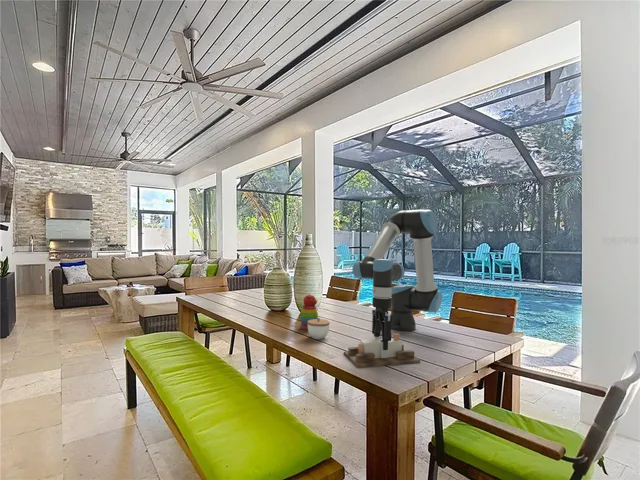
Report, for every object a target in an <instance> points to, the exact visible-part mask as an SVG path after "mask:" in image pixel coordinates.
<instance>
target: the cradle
mask: <svg viewBox="0 0 640 480" xmlns="http://www.w3.org/2000/svg"><path fill="white" fill-rule="evenodd" d="M404 347H405V346H404V344H402V351H396V357H388V358H375V354H374V353H364V354H358V346H349V347H347V349H348V350H347V351H343V355H344V356H345V357H346V358H347V359H348V360H349V361H350V362H351V363H352V364H353V365H354V366H355V367H356V368H358V369H359V368H372V367H383V366H384V367H385V366H394V365H406V364H407V365H408V364H419V363H421V359H420V358H418V357H417V356H415V351H414V350H413V349H409V350H408V349H407V350H405V349H404Z"/></svg>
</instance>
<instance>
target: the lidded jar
mask: <svg viewBox="0 0 640 480" xmlns="http://www.w3.org/2000/svg"><path fill="white" fill-rule="evenodd" d="M330 323H331V322H330V320H328V319H324V318H319V317H318V319H312V320H308V322H307V324H308V330H307V332H308V334H309V335H310V337H311V338H312V339H314V340H323V339H325V337H326V336H327V335H328V333H329V330H330Z"/></svg>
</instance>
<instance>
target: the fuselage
mask: <svg viewBox="0 0 640 480" xmlns="http://www.w3.org/2000/svg"><path fill="white" fill-rule="evenodd" d="M400 335H401V334H400V333H392V337H391V341H388V357H396V351H402V345H403V342H402V341H403V340H401V336H400ZM380 340H382V338H381V339H375V338H374V339H362V340H360V341H359V342H360V343H358V344H357V347H358V354H364V353H374V354H375V358H381V341H380Z"/></svg>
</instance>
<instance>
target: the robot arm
mask: <svg viewBox="0 0 640 480" xmlns="http://www.w3.org/2000/svg"><path fill="white" fill-rule="evenodd" d="M437 231H438V219H437V217H436V214H435V212H434V211H432V210H431V209H412V210H410V209H409V210H400V211H397V212H395V213H393V214H392V215H391V216H389V217H388V218H387V219H386V220H385V221H384V223H383V224H382V226H381V230H380V232H379V234H378V235H377V237H376V239H375V240H374V242H373V243H372V245H371V246H370V248H369V250H368V251H367V253H366V254H365V256H364V257H363V259H362V260H357V261H355V262H353V265H352V274H353V276H354V277H355V278H358V279H368V280H372V289H371V292H372V296H373V297H372V305H371V306H372V307H373V308H374V309H372V310H371V313H372V315H371V316H372V325H371V333H372V335H373V337H374V340H375V339H382V340H380V341H381V358H388V341H391V339H392V330H395V331H405V332H406V331H407V332H408V331H413V330H416V329H417V324H416V320H415V318H414V314H413V312H414V311H418V312H427V313H437V312H438V311H439V310H440V308H441V305H442V302H443V292H442V290H440V289H439V290H438V285H437V284H436V283H435V280H434V278H435V277H434V275H435V274H434V263H433V262H434V261H433V249H432V239H433V238H434V236H435V234H436V233H437ZM401 234H409V239H411V240H412V243H413V252H414V263H415V275H416V284H415V285H413V284H399V285H394V286H393V284H392V282H397V281H399V280H401V279H403V277H404V276H405V274H406V273H405V267H404V266H403V265H402V264H401V263H398V262H393V261H392V260H391V259H390V258H384V257H385V255H386V254H387V252H388V250H389V249H390V247H391V246H392V244H393V242H394V241H395V239H396V238H398V237H399V236H400V235H401ZM389 309H390V313H389Z"/></svg>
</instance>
